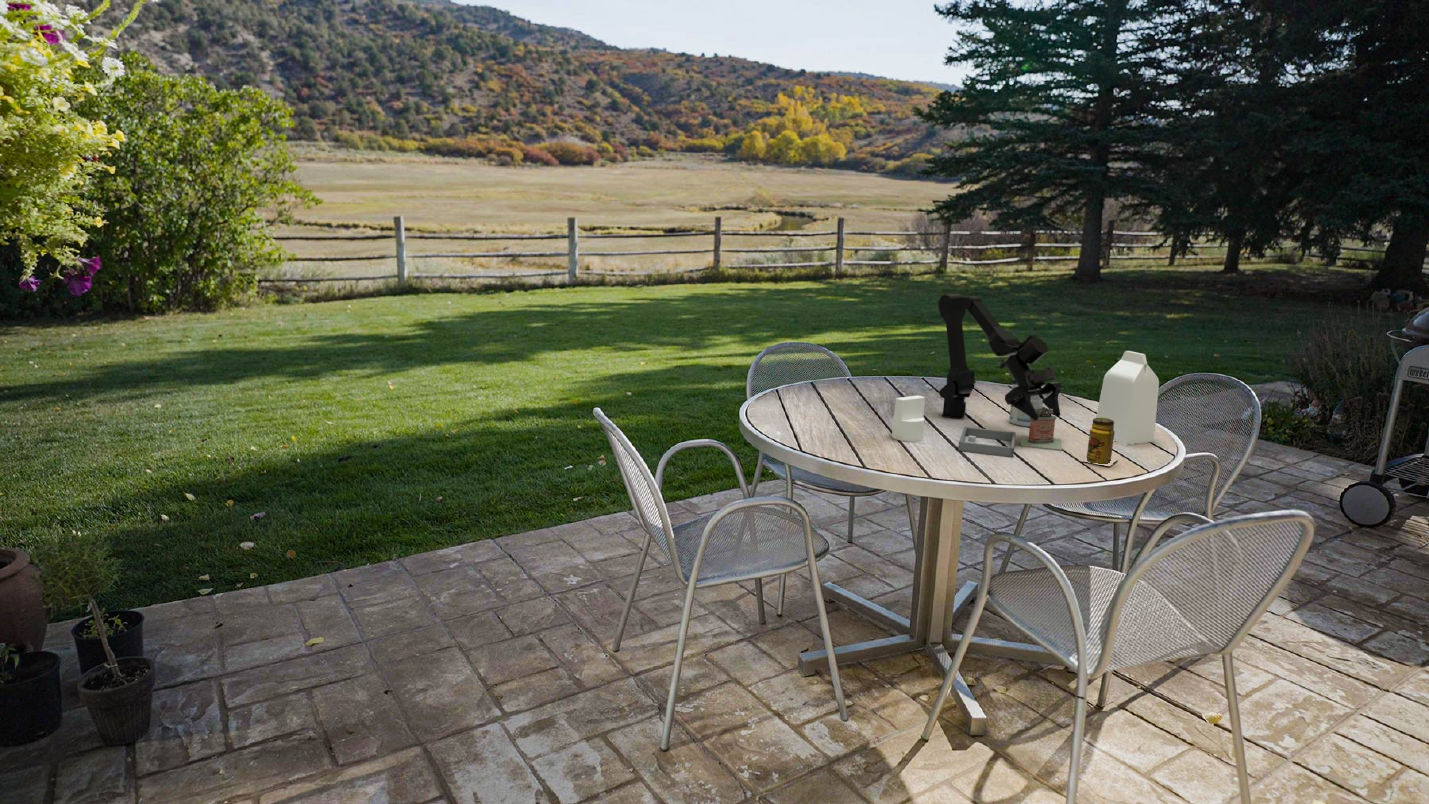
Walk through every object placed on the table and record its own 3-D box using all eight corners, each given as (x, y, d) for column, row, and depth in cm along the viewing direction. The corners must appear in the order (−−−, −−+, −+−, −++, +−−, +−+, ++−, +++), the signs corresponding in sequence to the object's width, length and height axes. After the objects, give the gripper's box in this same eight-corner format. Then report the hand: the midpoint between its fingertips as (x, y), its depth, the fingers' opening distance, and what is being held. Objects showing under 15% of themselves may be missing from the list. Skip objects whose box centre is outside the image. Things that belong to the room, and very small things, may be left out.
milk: (1092, 434, 256) (1104, 350, 250) (1120, 431, 260) (1132, 348, 254) (1125, 445, 245) (1138, 357, 239) (1153, 441, 250) (1166, 355, 243)
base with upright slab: (905, 443, 243) (908, 402, 240) (885, 435, 251) (888, 395, 248) (929, 439, 247) (932, 399, 244) (909, 431, 255) (912, 393, 252)
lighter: (1048, 439, 248) (1052, 406, 246) (1056, 442, 245) (1059, 408, 243) (1025, 440, 246) (1028, 407, 244) (1032, 443, 243) (1035, 409, 241)
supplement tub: (1047, 425, 266) (1052, 379, 262) (1028, 429, 260) (1033, 382, 257) (1021, 418, 273) (1026, 373, 270) (1002, 421, 268) (1006, 376, 265)
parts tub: (958, 450, 236) (958, 442, 236) (963, 434, 252) (964, 426, 252) (1012, 457, 231) (1013, 448, 231) (1014, 440, 247) (1015, 432, 247)
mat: (1020, 446, 242) (1020, 444, 242) (1021, 436, 252) (1021, 435, 252) (1061, 450, 238) (1061, 449, 238) (1061, 440, 248) (1061, 439, 248)
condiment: (1080, 462, 228) (1086, 419, 225) (1090, 455, 235) (1096, 414, 232) (1109, 468, 224) (1115, 424, 221) (1118, 461, 230) (1124, 418, 227)
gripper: (1016, 359, 238) (1044, 406, 231) (1061, 355, 247) (1089, 399, 240) (992, 381, 247) (1018, 426, 240) (1036, 376, 256) (1062, 419, 249)
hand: (1048, 417), depth 242 cm, fingers open, 9 cm apart
